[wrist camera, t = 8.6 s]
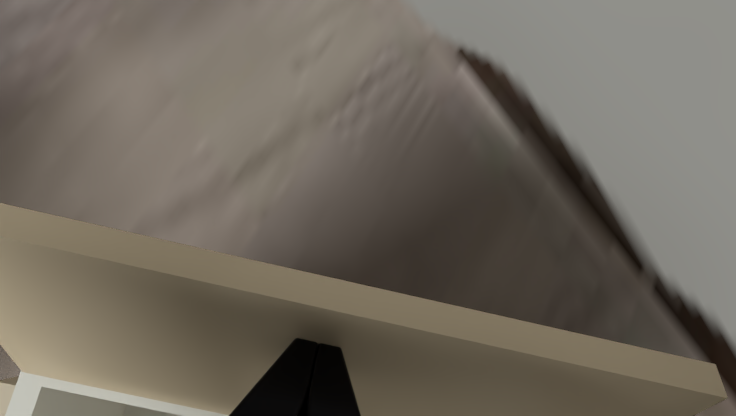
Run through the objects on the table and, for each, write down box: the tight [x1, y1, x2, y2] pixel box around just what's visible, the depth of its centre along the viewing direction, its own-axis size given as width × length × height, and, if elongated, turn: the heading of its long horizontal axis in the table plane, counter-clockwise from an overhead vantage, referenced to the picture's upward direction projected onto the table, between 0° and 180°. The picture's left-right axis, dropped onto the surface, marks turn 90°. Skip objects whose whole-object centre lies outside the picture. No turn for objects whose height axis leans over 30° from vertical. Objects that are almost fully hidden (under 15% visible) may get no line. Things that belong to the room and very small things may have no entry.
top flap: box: [0, 203, 728, 416], centre depth 10 cm, size 6×14×1 cm
